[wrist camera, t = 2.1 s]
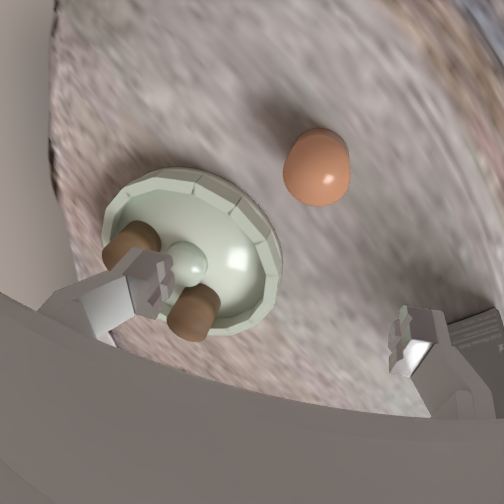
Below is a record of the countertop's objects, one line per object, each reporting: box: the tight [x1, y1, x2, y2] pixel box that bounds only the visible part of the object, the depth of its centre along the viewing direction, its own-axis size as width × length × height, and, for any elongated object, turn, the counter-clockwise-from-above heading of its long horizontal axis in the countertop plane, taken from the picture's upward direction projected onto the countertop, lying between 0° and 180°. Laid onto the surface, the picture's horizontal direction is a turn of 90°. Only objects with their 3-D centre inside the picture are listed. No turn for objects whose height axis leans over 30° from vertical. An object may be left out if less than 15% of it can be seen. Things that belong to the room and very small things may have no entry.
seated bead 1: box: [102, 220, 161, 271], centre depth 27 cm, size 4×4×4 cm
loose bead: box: [283, 128, 350, 206], centre depth 20 cm, size 4×4×4 cm
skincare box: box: [447, 308, 504, 419], centre depth 21 cm, size 8×7×16 cm
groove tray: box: [101, 167, 283, 335], centre depth 29 cm, size 17×17×2 cm
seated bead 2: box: [166, 283, 221, 342], centre depth 30 cm, size 4×4×4 cm
